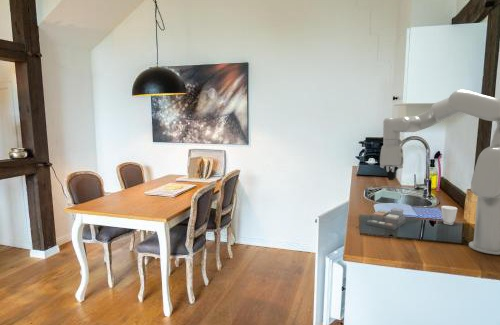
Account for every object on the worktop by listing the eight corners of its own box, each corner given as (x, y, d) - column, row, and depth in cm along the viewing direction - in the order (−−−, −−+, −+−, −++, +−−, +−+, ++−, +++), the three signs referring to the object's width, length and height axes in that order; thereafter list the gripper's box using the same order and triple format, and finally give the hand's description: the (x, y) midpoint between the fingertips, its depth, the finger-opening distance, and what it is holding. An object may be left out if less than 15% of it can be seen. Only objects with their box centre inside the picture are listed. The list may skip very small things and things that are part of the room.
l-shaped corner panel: (374, 204, 199) (374, 192, 199) (380, 201, 209) (381, 190, 208) (394, 207, 192) (395, 195, 191) (400, 204, 201) (400, 192, 200)
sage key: (389, 216, 165) (389, 211, 165) (386, 218, 162) (386, 212, 161) (380, 215, 168) (380, 209, 168) (377, 216, 165) (377, 211, 164)
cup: (439, 224, 158) (440, 208, 157) (440, 219, 166) (441, 203, 166) (456, 226, 154) (457, 209, 153) (456, 221, 163) (457, 205, 162)
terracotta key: (385, 219, 161) (385, 213, 160) (382, 221, 157) (382, 215, 157) (376, 217, 164) (376, 211, 163) (372, 219, 160) (373, 213, 160)
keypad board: (405, 222, 161) (405, 214, 161) (394, 230, 148) (394, 222, 148) (379, 217, 170) (379, 210, 169) (366, 224, 157) (366, 216, 157)
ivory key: (399, 221, 156) (399, 215, 156) (395, 223, 153) (396, 217, 153) (389, 219, 159) (389, 214, 159) (386, 221, 156) (386, 215, 156)
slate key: (403, 215, 161) (403, 209, 160) (400, 217, 157) (400, 211, 157) (393, 213, 164) (393, 208, 163) (390, 215, 160) (390, 209, 160)
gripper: (409, 142, 156) (409, 180, 158) (378, 142, 166) (378, 178, 168) (405, 143, 151) (404, 181, 152) (373, 143, 161) (373, 179, 162)
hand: (391, 179), depth 160 cm, fingers closed
